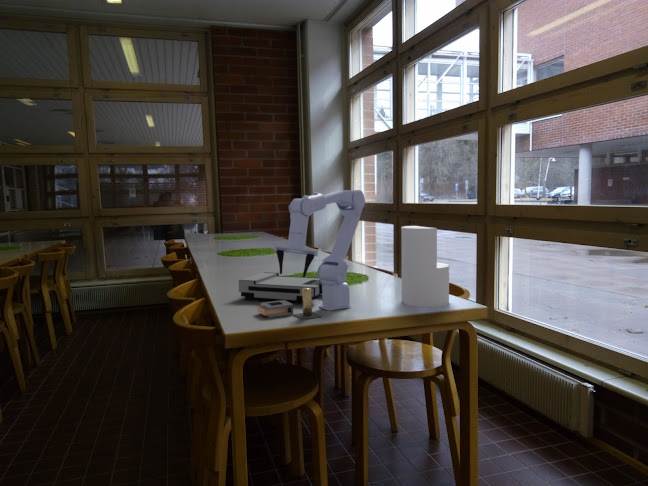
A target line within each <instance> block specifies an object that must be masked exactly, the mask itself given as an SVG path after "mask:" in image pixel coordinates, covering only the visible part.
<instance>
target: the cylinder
mask: <svg viewBox="0 0 648 486" xmlns="http://www.w3.org/2000/svg"><path fill="white" fill-rule="evenodd" d="M400 230H401V232H400V233H401V236H400V237H401V244H400V245H401V303H403V304H405V305H407V306H410V307H411V306H412V307H419V308H420V307H421V308H436V307H443V306H447V305H448V304H450V265H449V264H448V263H444V262H438V260H437V259H438V257H437V256H438V250H437V249H438V243H437V242H438V239H437V238H438V228H437V227H429V226H428V227H427V226H420V225H405V226H401V228H400Z"/></svg>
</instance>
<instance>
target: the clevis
mask: <svg viewBox="0 0 648 486" xmlns="http://www.w3.org/2000/svg"><path fill="white" fill-rule="evenodd" d="M256 312H258V313H259V314H262V315H263V316H265V317H266V318H268V319H272V318H280V317H288V316H292V315H293V316H294V304H292V303H289V302H287V301H285V300H280V301H272V302H260V306H256Z"/></svg>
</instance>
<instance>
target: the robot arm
mask: <svg viewBox="0 0 648 486" xmlns="http://www.w3.org/2000/svg"><path fill="white" fill-rule="evenodd" d="M333 203H335V205H336V206H337V208H338V209H339V210H338V211H340V214H341V216H343V221H342V223H341V226H340V229H339V231H338V232H337V233H338V234H337V236H336V239H335V241H334V244H333V246H332V250H331V252H330V255H328V256H326V257H325V258H323V259H322V262H321V263H320V265H319V266H318V267H317V268H316V269H317V270H316V276H317V278H319V280H320V283H322V295H321V296H322V297H321V298H322V300H321V301H322V304H318V305H317V307H319V308H321V309H324V310H326V311H336V310H341V309H343V310H344V309H349V308H351V307H352V306H351V304H350V303H351V302H350V286H349V284H348V283H347V282H345V281H346V279H347V275H348V269H349V265H348V263H347V262H346V260H345V259H346V256H347V254H348V251H349V249H350V247H351V243H352V242H353V241H352V240H353V238H354V236H355V232H356V230H357V227H358V225H359V222H360V219H361V214H362V212H363V209H364V207H365V204H366V199H365V194H364V192H363V191H362V190H361V189H353V190H352V189H351V190H349V189H347V190H341V189H340V190H334V191H332V192H329V193H326V194H322V193H319V192H318V191H317V192H316V191H315V192H312V194H311V195H308V194H307V195H303V196H302V198H297V197H296V198H293V199H292V200H291V202H290V204H288V211H289V214H290V215H289V218H290V223H289V224H290V225H289V232H288V240H287V245H281V244H273V251H274V252H276V253H275V254H276V257H277V261H278V265H279V266H278V267H279V275H283V265H284V264H283V263H284V256H285V253H290V254H297V255H305V261H304V268H303V273H302V277H307V272H308V269H309V267H311V266H310V265H311V263H312V262H313V260H314V259H315V257H318V254H319V250H318V249H311V248H306V242H307V234H308V226H309V217H310V216H312V214H313V213H315V212H319V211H321V210H324V209H325V208H326V207H327V205H330V204H333Z"/></svg>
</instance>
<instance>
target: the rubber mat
mask: <svg viewBox="0 0 648 486" xmlns="http://www.w3.org/2000/svg"><path fill="white" fill-rule="evenodd" d="M293 316H294V317H296V318H297V319H300V320H302V321H305V320H311V319H317V318H319V319H320V318H322V315H320V314H319V313H316V312H314V311H312V316H303V312H302V313H301V312H300V313H293Z"/></svg>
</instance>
